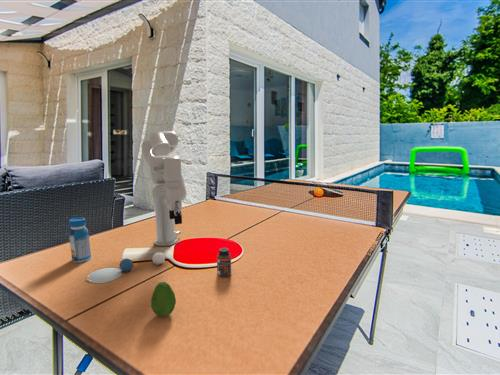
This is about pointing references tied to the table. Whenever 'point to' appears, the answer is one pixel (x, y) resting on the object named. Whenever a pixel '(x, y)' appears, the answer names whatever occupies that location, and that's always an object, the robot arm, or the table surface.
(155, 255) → the cue ball
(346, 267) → the table surface
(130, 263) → the object ball
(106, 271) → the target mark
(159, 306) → the avocado
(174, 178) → the robot arm
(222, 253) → the supplement bottle
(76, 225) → the blue medicine bottle
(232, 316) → the table surface
